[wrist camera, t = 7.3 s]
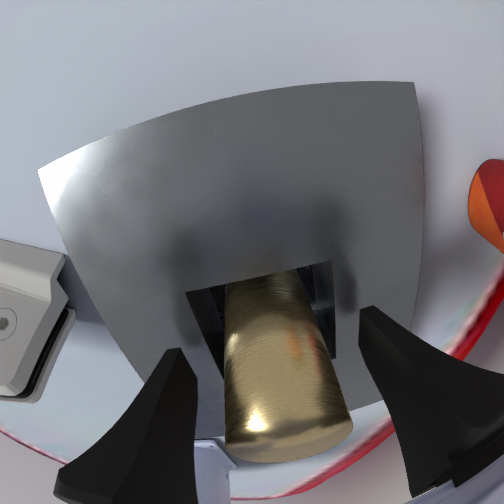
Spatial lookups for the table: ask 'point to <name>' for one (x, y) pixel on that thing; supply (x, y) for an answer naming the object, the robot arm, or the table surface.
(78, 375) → the table surface
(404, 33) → the table surface
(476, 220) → the paper cup
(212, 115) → the block
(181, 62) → the table surface
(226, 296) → the brass pin
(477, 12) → the table surface
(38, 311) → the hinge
